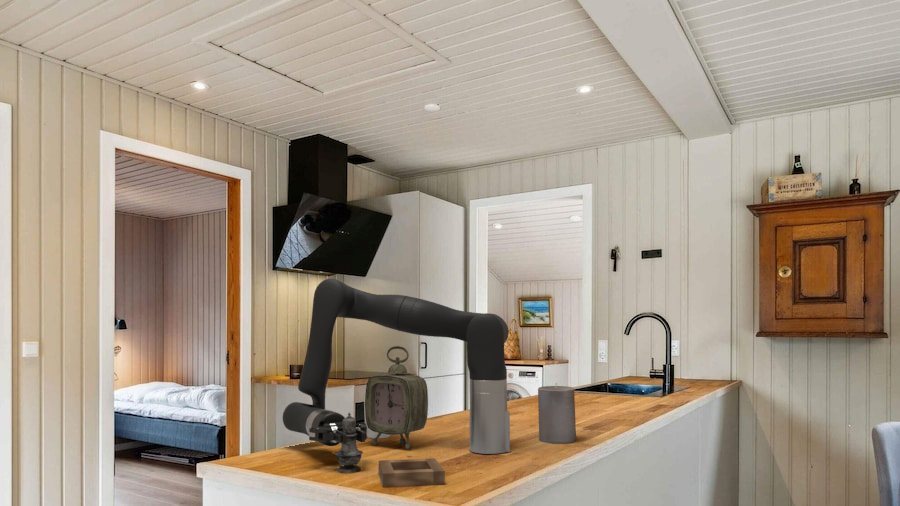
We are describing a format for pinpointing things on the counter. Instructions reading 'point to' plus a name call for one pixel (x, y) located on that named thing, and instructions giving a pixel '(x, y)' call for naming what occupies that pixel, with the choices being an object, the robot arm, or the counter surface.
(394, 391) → the tabletop clock
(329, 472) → the counter surface
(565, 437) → the pillar candle
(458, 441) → the counter surface
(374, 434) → the white curved pieces
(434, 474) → the socket block
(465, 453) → the counter surface
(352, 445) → the chess piece
